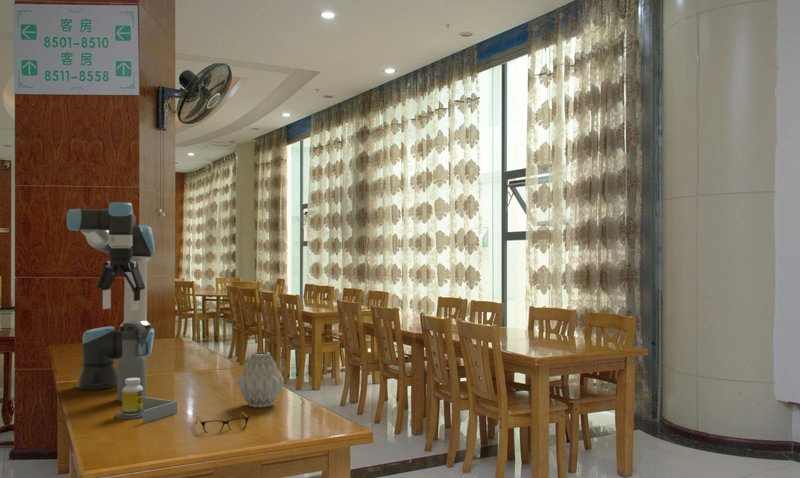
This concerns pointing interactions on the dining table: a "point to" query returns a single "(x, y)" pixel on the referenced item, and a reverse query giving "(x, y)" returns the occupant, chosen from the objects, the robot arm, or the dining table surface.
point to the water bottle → (132, 356)
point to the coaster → (121, 416)
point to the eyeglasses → (224, 421)
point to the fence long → (153, 402)
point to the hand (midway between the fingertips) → (120, 309)
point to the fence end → (159, 412)
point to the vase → (260, 380)
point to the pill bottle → (132, 397)
